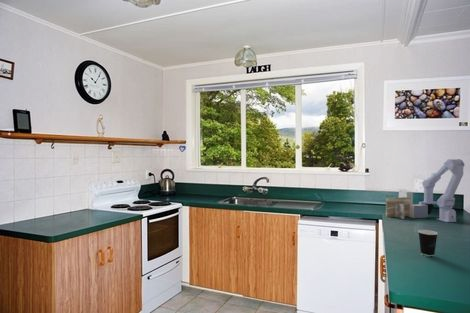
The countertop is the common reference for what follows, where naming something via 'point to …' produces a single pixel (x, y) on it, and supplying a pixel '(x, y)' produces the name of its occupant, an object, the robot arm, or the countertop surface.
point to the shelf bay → (398, 207)
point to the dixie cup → (427, 241)
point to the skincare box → (406, 194)
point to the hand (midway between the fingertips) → (428, 214)
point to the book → (418, 211)
